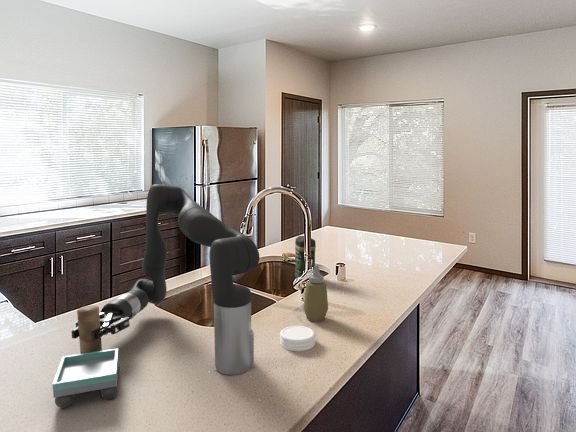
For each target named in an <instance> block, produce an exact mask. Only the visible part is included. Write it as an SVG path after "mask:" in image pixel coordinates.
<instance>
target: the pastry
mask: <svg viewBox="0 0 576 432" xmlns="http://www.w3.org/2000/svg"><path fill="white" fill-rule="evenodd" d="M281 255H282V256H283V260H282V261H283V262H285V261H284V260H286V259H287V258H288V257H295V254H294V253H291V252H282V253H281Z"/></svg>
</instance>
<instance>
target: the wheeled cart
mask: <svg viewBox="0 0 576 432" xmlns="http://www.w3.org/2000/svg"><path fill="white" fill-rule="evenodd" d="M119 353H120V352H119V348H112V349H111V348H110V349H105V350H103V349H102V351H97V352H90V353H83V354H81V353H78V354H71V355H65V356H62V357H61V360H60V362H59V365H58V367H57V371H56V372H55V376H54V379H53V381H52V394H53V398H54V404H55V405H56V407H58V408H60V409H65V408H68V407H69V406H71V405H72V403H73V402H74V398H75V397H74V395H77V394H81V393H82V394H83V393H86V392H93V391H99V390H100V395H101V397H102V399H104V400H112V399H114V398H116V396H117V395H118V392H119V386H118V378H119V377H118V376H119V373H120V369H121V368H120V363H119V362H120V356H119V355H120V354H119Z"/></svg>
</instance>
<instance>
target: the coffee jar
mask: <svg viewBox="0 0 576 432" xmlns="http://www.w3.org/2000/svg"><path fill="white" fill-rule="evenodd" d="M304 236H305V235H298V236H297V237H296V238H295V241H294V243H295V244H294V245H295V247H294V248H295V249H294V250H295V261H294V265H295V266H294V276H295V278H296V279H297V278H298V277H300V276H301V275H302V274H303V271H304ZM310 238H311V237H310ZM316 245H317V244H316V240H315V239H314V238H311V260H312V267H313V270H314V266H315V265H316Z"/></svg>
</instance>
